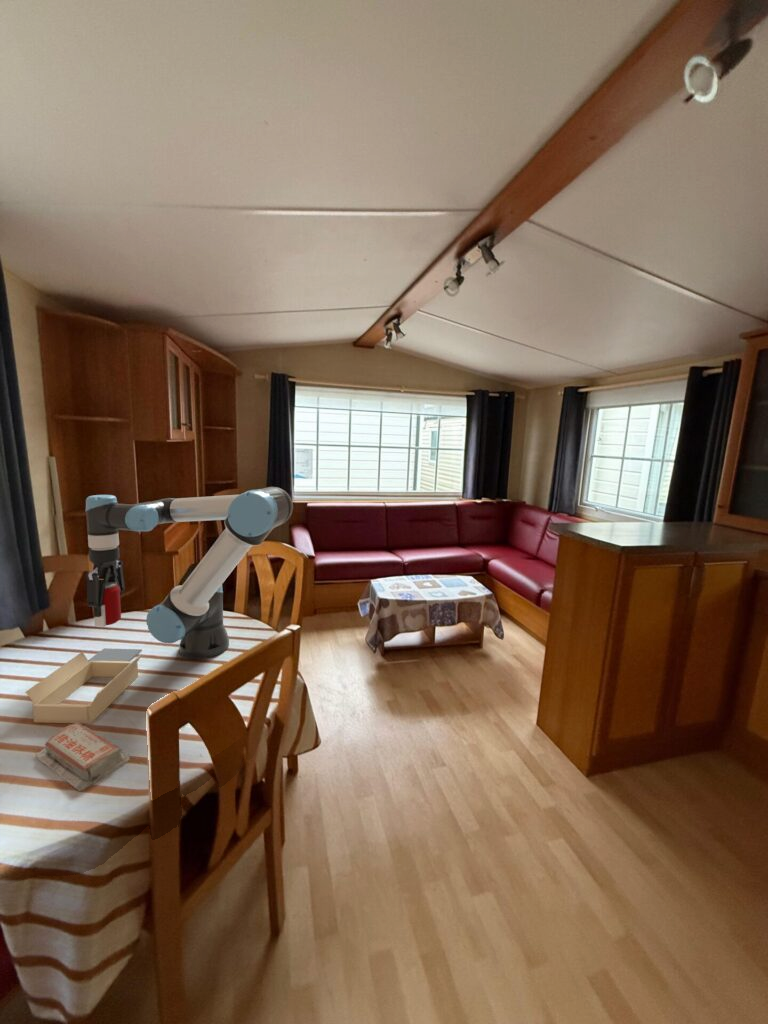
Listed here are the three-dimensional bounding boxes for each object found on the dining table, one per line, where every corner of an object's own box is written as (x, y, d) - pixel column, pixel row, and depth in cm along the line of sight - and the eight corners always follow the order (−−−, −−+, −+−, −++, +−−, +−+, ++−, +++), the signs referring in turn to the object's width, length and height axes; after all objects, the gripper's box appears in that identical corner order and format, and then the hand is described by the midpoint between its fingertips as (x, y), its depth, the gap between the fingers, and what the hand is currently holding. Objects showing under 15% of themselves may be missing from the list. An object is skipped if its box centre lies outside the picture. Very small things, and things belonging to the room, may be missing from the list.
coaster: (141, 650, 132) (141, 649, 132) (119, 670, 120) (119, 669, 120) (103, 649, 132) (103, 648, 132) (77, 669, 120) (77, 668, 120)
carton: (145, 676, 118) (144, 651, 117) (98, 724, 98) (96, 695, 97) (85, 674, 118) (83, 650, 116) (25, 722, 97) (22, 693, 96)
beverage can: (118, 615, 129) (116, 579, 127) (123, 622, 124) (121, 585, 122) (92, 621, 124) (90, 583, 122) (97, 628, 119) (94, 589, 118)
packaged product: (130, 741, 87) (78, 773, 78) (131, 761, 88) (80, 795, 79) (84, 712, 95) (32, 738, 86) (85, 731, 96) (34, 758, 87)
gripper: (111, 539, 130) (115, 607, 134) (66, 555, 111) (72, 634, 114) (135, 540, 130) (139, 608, 134) (94, 556, 111) (99, 635, 115)
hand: (108, 620), depth 124 cm, fingers closed on beverage can, 7 cm apart
